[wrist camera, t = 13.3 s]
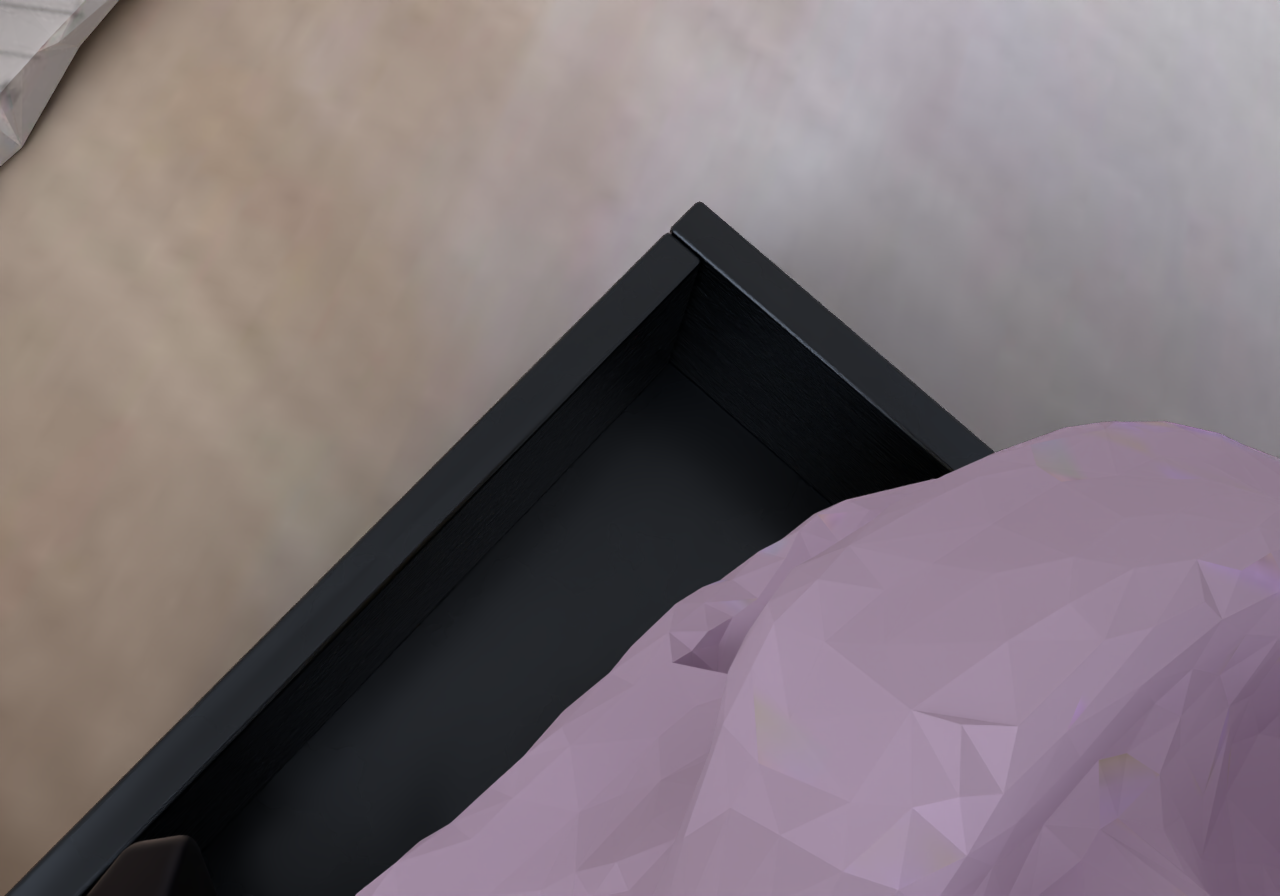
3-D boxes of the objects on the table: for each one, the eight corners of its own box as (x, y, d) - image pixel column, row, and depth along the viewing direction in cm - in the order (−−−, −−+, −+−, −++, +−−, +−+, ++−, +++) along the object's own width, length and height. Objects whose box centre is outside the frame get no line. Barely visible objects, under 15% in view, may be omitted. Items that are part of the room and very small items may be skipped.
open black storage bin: (739, 1530, 14) (823, 1885, 10) (113, 890, 15) (-59, 955, 11) (1228, 816, 17) (1462, 848, 13) (662, 324, 18) (699, 196, 14)
